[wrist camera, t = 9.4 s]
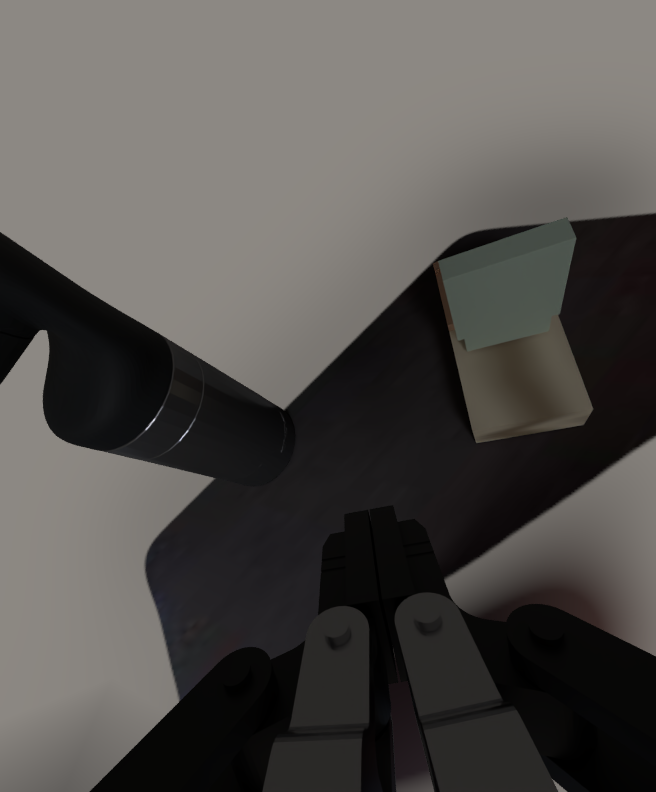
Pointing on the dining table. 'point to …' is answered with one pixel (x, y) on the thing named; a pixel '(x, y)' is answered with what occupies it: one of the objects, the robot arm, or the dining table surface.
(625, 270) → the dining table surface
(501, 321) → the green rectangular slab
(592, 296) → the dining table surface
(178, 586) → the dining table surface
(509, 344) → the beige open box
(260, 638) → the dining table surface
